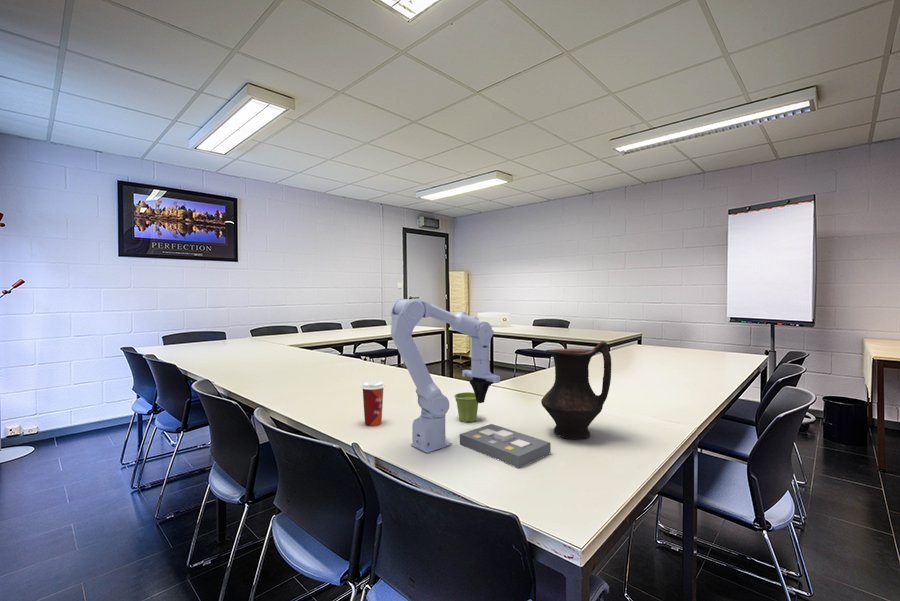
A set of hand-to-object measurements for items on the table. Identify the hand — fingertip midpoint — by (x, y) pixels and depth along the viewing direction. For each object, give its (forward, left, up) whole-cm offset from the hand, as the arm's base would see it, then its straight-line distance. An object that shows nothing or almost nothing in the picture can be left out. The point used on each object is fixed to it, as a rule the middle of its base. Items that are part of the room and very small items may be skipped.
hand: (480, 402), depth 123 cm
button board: (-3, -12, -10) cm, 16 cm away
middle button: (-3, -12, -9) cm, 15 cm away
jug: (+22, -20, -11) cm, 32 cm away
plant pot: (+8, +14, -11) cm, 19 cm away
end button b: (-3, -18, -10) cm, 21 cm away
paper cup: (-19, +33, -11) cm, 40 cm away
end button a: (-3, -6, -10) cm, 12 cm away
